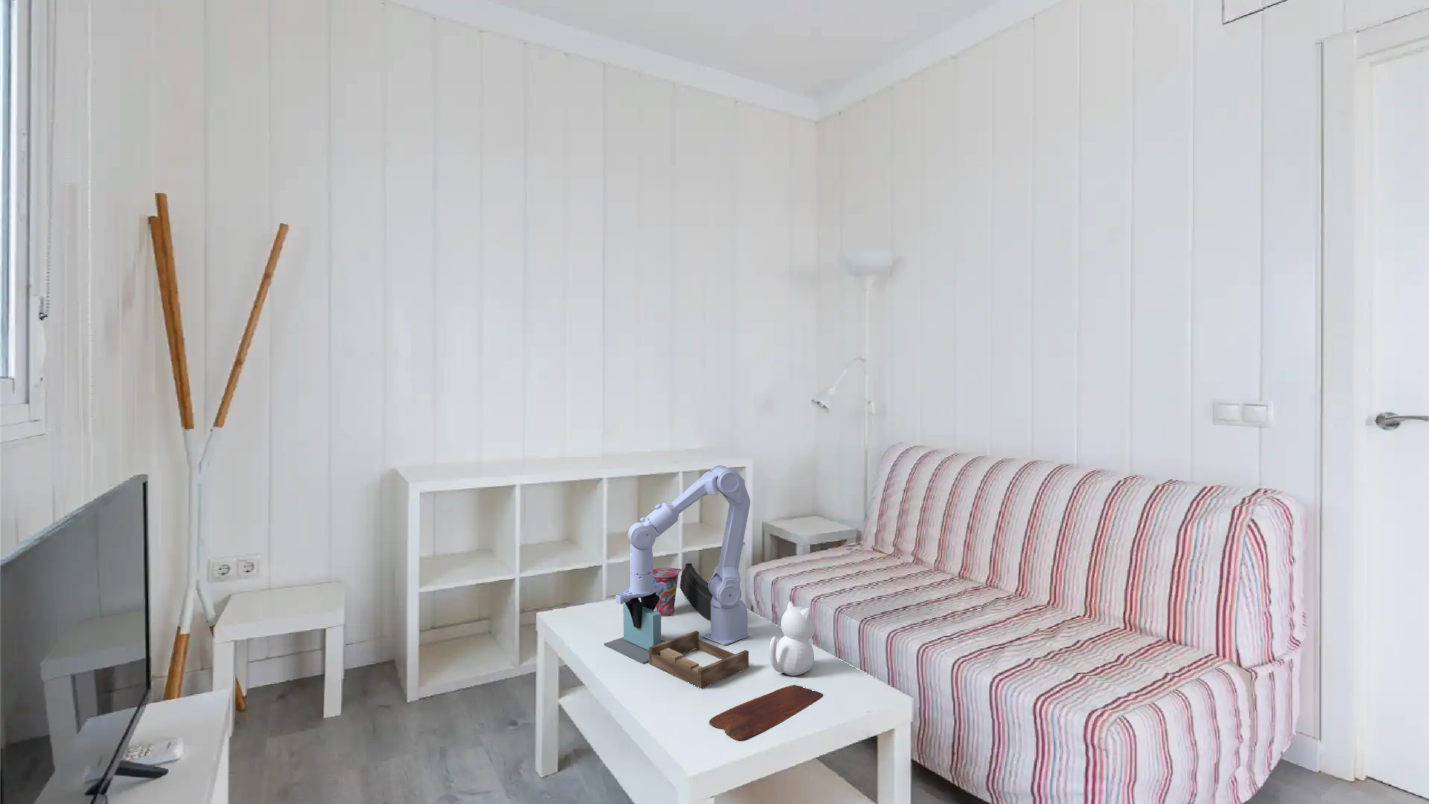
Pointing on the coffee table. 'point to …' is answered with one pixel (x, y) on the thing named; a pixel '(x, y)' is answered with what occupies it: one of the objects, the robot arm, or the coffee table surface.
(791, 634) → the cat figurine
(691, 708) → the coffee table surface
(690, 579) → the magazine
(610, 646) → the mat
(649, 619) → the teal rectangular block
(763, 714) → the wooden tablet
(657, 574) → the cup
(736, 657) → the rack
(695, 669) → the offcuts
